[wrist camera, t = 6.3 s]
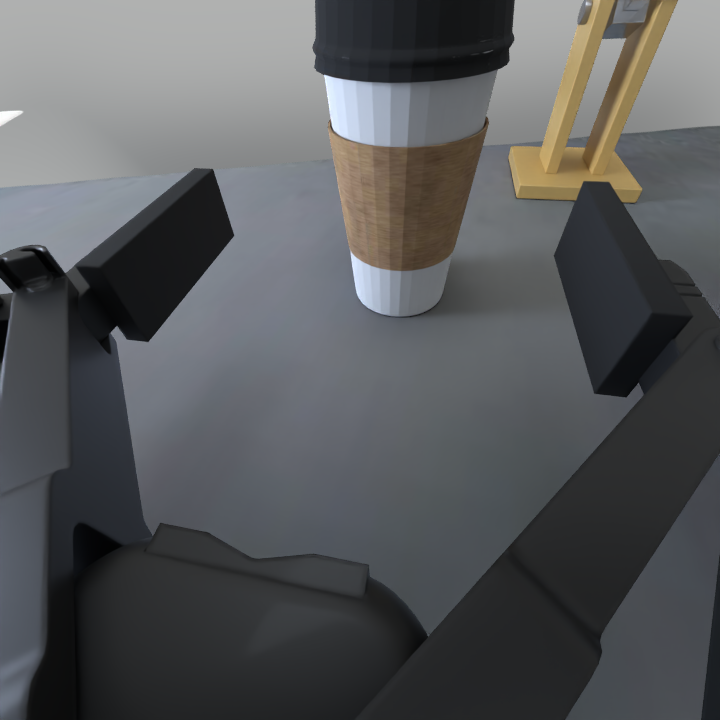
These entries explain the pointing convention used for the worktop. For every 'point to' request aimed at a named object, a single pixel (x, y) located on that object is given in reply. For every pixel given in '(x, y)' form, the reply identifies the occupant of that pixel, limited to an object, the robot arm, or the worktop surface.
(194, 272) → the robot arm
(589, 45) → the lever stand
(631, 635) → the worktop surface
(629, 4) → the lever handle
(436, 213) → the coffee cup
